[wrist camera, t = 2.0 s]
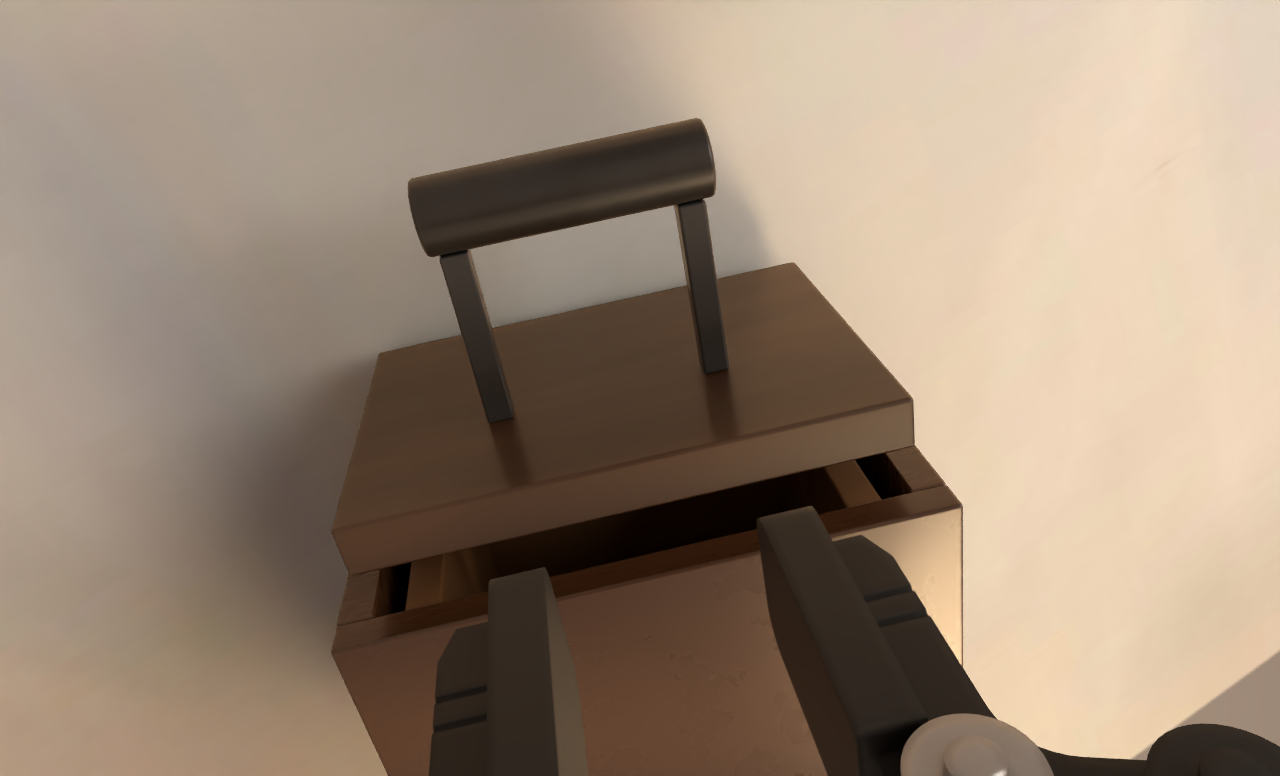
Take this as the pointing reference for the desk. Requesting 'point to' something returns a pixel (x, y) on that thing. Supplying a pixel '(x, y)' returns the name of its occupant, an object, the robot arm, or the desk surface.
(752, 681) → the cabinet
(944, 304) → the desk surface
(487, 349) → the drawer
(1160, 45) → the desk surface
